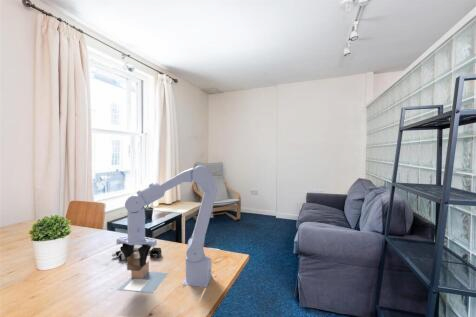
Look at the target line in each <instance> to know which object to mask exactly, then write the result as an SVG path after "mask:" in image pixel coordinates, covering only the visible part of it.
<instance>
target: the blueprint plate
mask: <svg viewBox="0 0 476 317" xmlns="http://www.w3.org/2000/svg"><path fill="white" fill-rule="evenodd" d="M168 274H169V273H167V272H157V271H149V272H148V273H147V274H146V275H145V276H144V277H143V278H131V277H130V278H128V279H127V281H125V282H124V283H123V284H122V285H121V286H120V287H119V288H118V289H117V291H128V292H135V293H144V294H145V293H148V294H153V293H154V292H155V291H156V290H157V288H158V287H159V285H161V284H162V282H163V280H164V279H166V277H167V276H168Z"/></svg>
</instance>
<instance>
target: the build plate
mask: <svg viewBox="0 0 476 317" xmlns="http://www.w3.org/2000/svg"><path fill="white" fill-rule="evenodd" d="M161 256H162V248H161V247H152V248H151V249H150V251H149V258H150V259H159V258H160V257H161Z"/></svg>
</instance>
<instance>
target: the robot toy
mask: <svg viewBox="0 0 476 317" xmlns="http://www.w3.org/2000/svg"><path fill="white" fill-rule="evenodd" d="M140 247H142V245H134V251H133V253H134V252H139V251H138V249H139V248H140ZM111 256H112V258H113V257H118V260H121V261H125V260H126V258H125V256H124V254H123V252H122V251H121V250H118V251H115V252H114V253H112V254H111Z"/></svg>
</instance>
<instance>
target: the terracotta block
mask: <svg viewBox="0 0 476 317" xmlns="http://www.w3.org/2000/svg"><path fill="white" fill-rule="evenodd" d="M149 262H150V260H146V265H145V266H144V267H143V268H142V269H140V270H139V271H133V270H130V272H131V273H130V274H131V275H130V276H131V277H130V278H143V277H144V276H145V275H146V274H147V273H148V272H150V271H149V270H150V269H149V268H150V267H149V266H150V265H149Z"/></svg>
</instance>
